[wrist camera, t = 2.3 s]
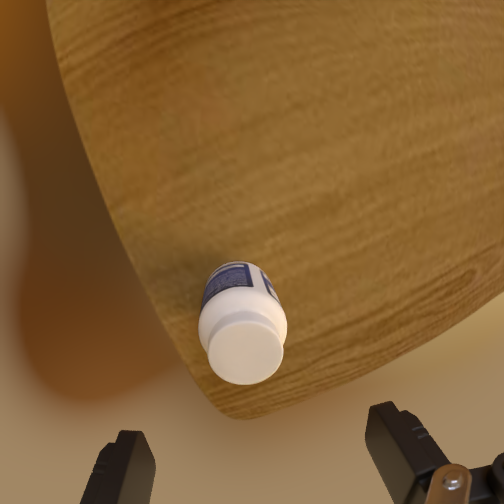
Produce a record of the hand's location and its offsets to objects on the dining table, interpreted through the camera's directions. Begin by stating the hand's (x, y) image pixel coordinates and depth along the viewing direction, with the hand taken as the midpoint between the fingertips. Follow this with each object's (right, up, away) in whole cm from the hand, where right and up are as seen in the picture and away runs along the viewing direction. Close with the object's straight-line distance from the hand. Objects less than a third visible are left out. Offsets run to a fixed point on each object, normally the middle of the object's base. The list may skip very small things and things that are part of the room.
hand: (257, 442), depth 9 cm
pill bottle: (-1, +3, +16) cm, 16 cm away
